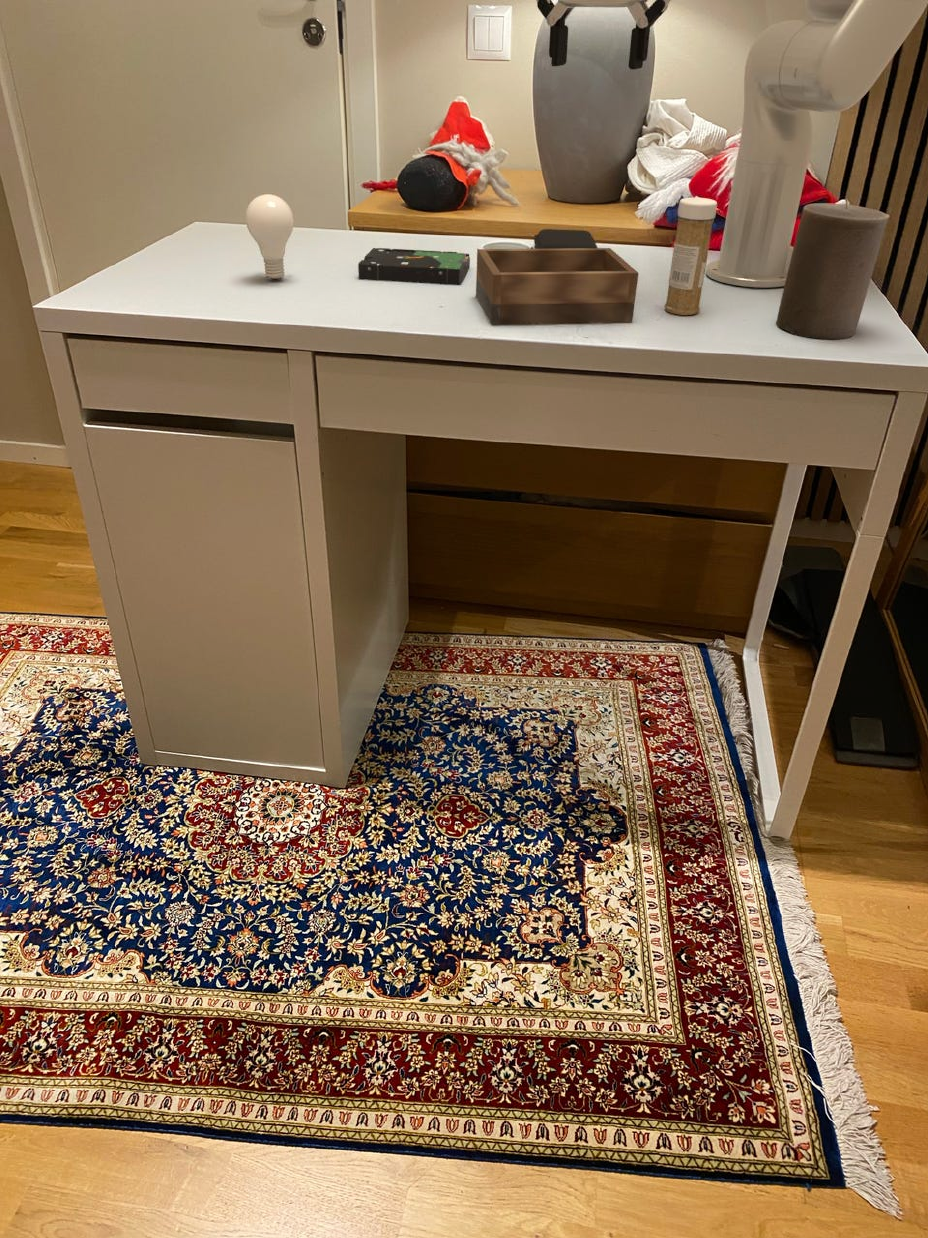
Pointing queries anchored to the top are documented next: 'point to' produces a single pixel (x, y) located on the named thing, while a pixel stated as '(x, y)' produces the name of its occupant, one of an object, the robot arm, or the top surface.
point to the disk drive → (414, 266)
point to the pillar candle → (830, 270)
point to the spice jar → (690, 255)
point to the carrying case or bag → (563, 239)
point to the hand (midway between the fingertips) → (596, 66)
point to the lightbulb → (270, 231)
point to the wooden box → (555, 286)
